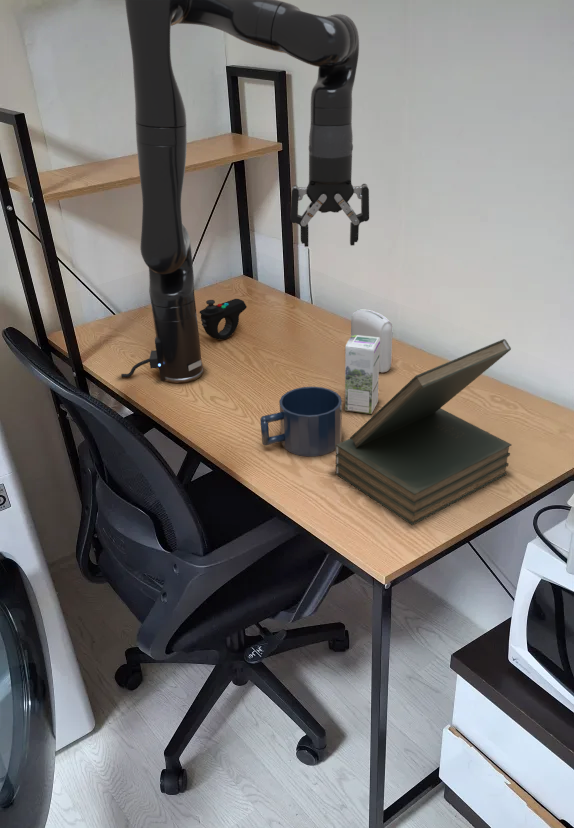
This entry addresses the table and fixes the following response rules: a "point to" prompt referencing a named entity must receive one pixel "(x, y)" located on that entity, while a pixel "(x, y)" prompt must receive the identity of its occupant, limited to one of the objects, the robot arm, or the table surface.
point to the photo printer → (375, 333)
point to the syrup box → (361, 373)
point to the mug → (307, 421)
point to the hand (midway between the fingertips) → (329, 244)
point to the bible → (425, 444)
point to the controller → (217, 313)
